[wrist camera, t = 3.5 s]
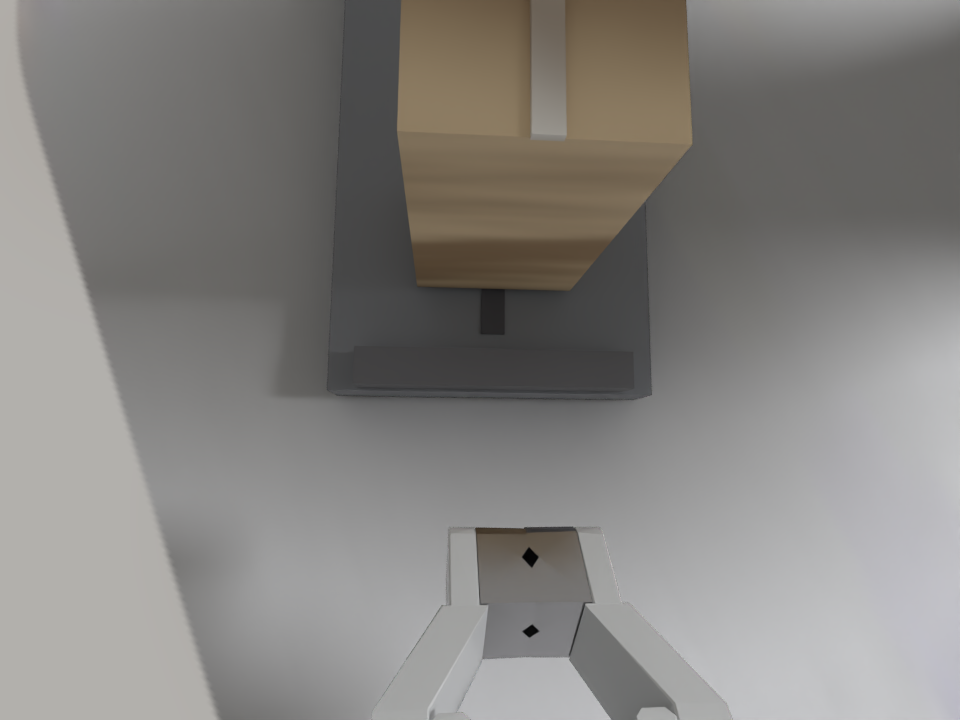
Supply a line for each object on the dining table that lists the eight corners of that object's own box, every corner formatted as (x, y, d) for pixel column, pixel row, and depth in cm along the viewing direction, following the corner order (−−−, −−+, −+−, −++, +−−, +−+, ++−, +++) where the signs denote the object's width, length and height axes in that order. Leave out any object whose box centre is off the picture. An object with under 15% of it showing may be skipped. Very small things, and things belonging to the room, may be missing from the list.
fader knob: (569, 292, 20) (697, 141, 10) (417, 288, 20) (396, 127, 10) (568, 178, 21) (687, -68, 11) (420, 173, 21) (402, -87, 11)
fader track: (632, 399, 22) (664, 392, 19) (337, 395, 22) (319, 386, 19) (616, -171, 26) (641, -256, 23) (363, -191, 25) (352, -282, 22)
